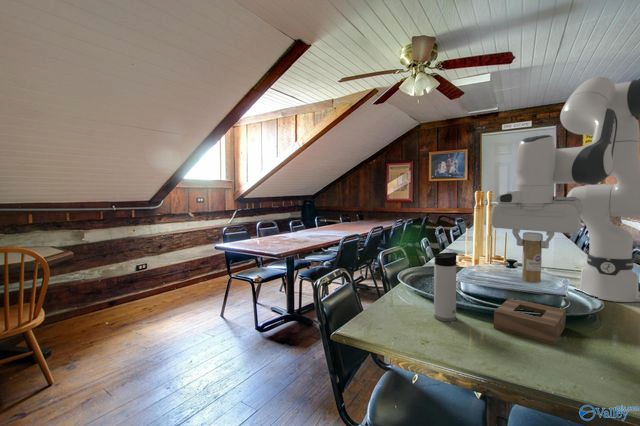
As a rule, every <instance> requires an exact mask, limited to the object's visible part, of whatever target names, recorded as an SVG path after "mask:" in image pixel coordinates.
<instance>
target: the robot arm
mask: <svg viewBox="0 0 640 426" xmlns="http://www.w3.org/2000/svg"><path fill="white" fill-rule="evenodd" d="M559 120H560V123H561V125H562V126H563V128H565V129H566V130H567V131H568V132H570V133H573V134H575V135H583V136H584V135H585V136H592V138H591V139H592V140H591V142H590V143H589V144H585V145H582V146H574V147H562V148H557V147H556V145H555V139H554V136H553V135H550V134H542V135H541V134H540V135H536V136H530V137H525V138H523V139H521V140H520V141H519V144H518V147H517V151H516V157H515V158H516V159H515V172H516V181H515V183H514V184H515V185H514V188H515V189H514V190H511V191H508V192H505V193H502V194H498V195H496V196H495V202H496V204H494V206H493V209H492V211H491V212H492V213H491V222H490V223H491V226H492V227H493V229H494V228H495V229H505V230H512V231H511V233H512V235H513V237H514V238H515V240H516V246H517V247H519V246H521V247H523V238H522V237H521V236H520V233H521V231H530V232H531V231H532V232H535V231H536V232H546V236H548V237H547V238H546V240H542V241H541V248H542V249H547V250H548V249H549V247H550V241H551V240H553V238H554V236H555V233H558V234H560V233H561V234H562V233H563V234H571V235H572V234H573V235H574V234H577V233H579V232H580V231H581V230H582V229H581V228H582V222H583V224H584V226H586V229H587V232H588V238H589V240H588V242H589V251H588V252H589V253H588V254H587V256H586V266H584V267H583V268H581V272H580V283H579V284H577V285H575V286H574V287H575V288H577V289H580V290H582V291H585V292H587V293H590V294H592V295H594V296H596V297H598V298H597V299H599V300H605V301H609V302H619V303H633V302H634V303H636V302H637V303H638V302H639V303H640V291H639V290H640V286H639V275H637V273H636V272H634V271H633V269H634V265H635V261H634V257H633V247H634V246H633V244H634V243H633V242H634V238H633V235H632V234H631V232H629V231H628V230H627V229H624V228H623V227H621V226H619V225H616V224H614V223H613V222H612V221H611V219H610V217H615V218H616V217H619V218H620V217H621V218H622V217H623V218H640V124H639V120H640V79H634V80H632V81H625V82H620V83H619V82H618V83H615V82H614V81H613V80H612V79H610V78H608V77H605V76H595V77H594V76H593V77H591V78H588V79H586V80H585V81H583V82H582V83H581V84H580V85H579V86H578V87H577V88H576V89H575V90H574V91H572V93H571V94H570V95H569V96H568V99H566V102H565V104H564V105H563V107H562V109H561V111H560V115H559ZM609 176H611V177H614V178H615V179H616V183H614V184H600V183H601V182H603V181H604V180H606V179H607V178H608V177H609ZM555 184H556V185H557V184H560V185H561V184H563V185H564V184H565V185H566V184H579V185H580V186H575V187H573V188H571V189H570V190H569V192H568V193H567V194H566V196H555V186H556V185H555Z"/></svg>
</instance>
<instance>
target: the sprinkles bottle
mask: <svg viewBox="0 0 640 426" xmlns="http://www.w3.org/2000/svg"><path fill="white" fill-rule="evenodd" d="M522 239H523V246H522V264H521V266H522V267H521V269H522V271H521V280H522V282H526V283H531V284H538V283H541V282H542V279H541V277H542V276H541V275H542V273H541V272H542V249H543V248H541V241H544V235H543V233H541V232H537V231H536V232H535V231H532V232H531V231H530V232H529V231H526V232H523V233H522Z"/></svg>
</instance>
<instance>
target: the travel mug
mask: <svg viewBox="0 0 640 426" xmlns="http://www.w3.org/2000/svg"><path fill="white" fill-rule="evenodd" d="M457 256H459V255H458V253H457V252H439V253H437V254H435V255H434V266H433V269H434V271H433V282H434V283H433V287H434V288H433V289H434V290H433V291H434V292H433V316H434V318H435V319H437V320H438V321H441V322H454V321H456V319H457V271H458V270H457Z"/></svg>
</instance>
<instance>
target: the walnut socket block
mask: <svg viewBox="0 0 640 426" xmlns="http://www.w3.org/2000/svg"><path fill="white" fill-rule="evenodd" d="M513 299H514V298H512V299H509V298H507V299H506V300H505V301H504V302H503V303H502V304H500V305H499V306H498V307H497V308H496V309H495V310H494V311H493V329H495V330H499V331H503V332H505V333H506V332H507V333H510V334H513V335H517V336H519V337H524V338H527V339H531V340H535V341H538V342H542V343H544V344H545V343H546V344H548V345H552V346H556V344H557V342H558V340H559V338H560V337H561V336H562V333H563V331H564V330H565V328H566V316H567V315H566V313H567V310H566V309H564V308H559V307H555V306H550V305H545V304H540V303H535V302H530V301H527V300H526V301H525V300H522V301H521V299H517V300H513ZM518 309H523V310H528V311H534V312H537V313H540V314H541V315H536V316H533V315H529V314H525V313H521V312H517V310H518Z"/></svg>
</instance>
